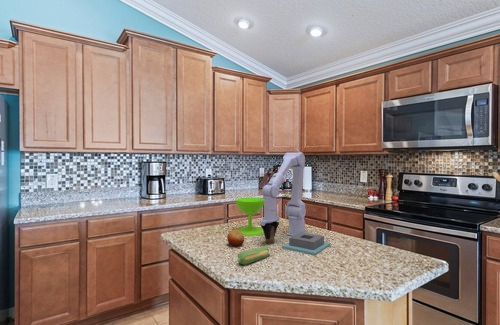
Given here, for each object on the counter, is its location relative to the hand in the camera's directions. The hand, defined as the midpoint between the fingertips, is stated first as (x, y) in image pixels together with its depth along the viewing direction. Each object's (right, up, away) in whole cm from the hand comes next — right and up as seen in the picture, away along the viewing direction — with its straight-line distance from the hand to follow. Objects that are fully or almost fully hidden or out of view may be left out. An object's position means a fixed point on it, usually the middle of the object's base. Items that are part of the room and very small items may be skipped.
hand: (270, 237), depth 139 cm
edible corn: (-7, -3, -23) cm, 24 cm away
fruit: (-17, -3, -4) cm, 17 cm away
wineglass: (-10, -2, +21) cm, 23 cm away
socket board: (+17, -3, -6) cm, 18 cm away
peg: (0, -2, 0) cm, 2 cm away
